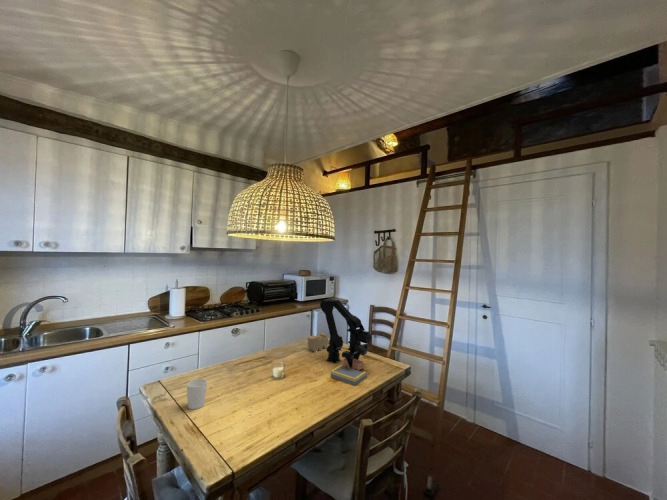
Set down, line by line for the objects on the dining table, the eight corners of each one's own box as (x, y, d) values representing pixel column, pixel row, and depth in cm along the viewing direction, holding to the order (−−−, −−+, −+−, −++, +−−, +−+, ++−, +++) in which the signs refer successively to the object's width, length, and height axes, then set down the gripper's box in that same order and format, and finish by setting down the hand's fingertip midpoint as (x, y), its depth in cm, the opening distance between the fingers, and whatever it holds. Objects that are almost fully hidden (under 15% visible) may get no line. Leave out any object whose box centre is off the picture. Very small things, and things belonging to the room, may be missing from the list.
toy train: (329, 347, 202) (329, 333, 202) (312, 353, 190) (312, 338, 190) (324, 345, 206) (324, 332, 206) (306, 351, 194) (307, 336, 194)
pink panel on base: (343, 367, 168) (344, 359, 168) (348, 364, 173) (349, 356, 173) (358, 372, 163) (358, 363, 163) (363, 368, 168) (363, 360, 168)
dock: (330, 377, 155) (330, 370, 155) (343, 369, 166) (343, 363, 166) (355, 385, 146) (355, 379, 146) (367, 377, 157) (367, 370, 157)
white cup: (192, 400, 127) (193, 378, 127) (209, 400, 127) (210, 379, 127) (182, 409, 120) (183, 386, 120) (200, 410, 119) (201, 387, 119)
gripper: (358, 346, 156) (357, 374, 156) (373, 338, 171) (372, 364, 171) (341, 342, 162) (340, 369, 162) (357, 335, 177) (356, 359, 177)
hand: (353, 365), depth 168 cm, fingers closed on pink panel on base, 6 cm apart
